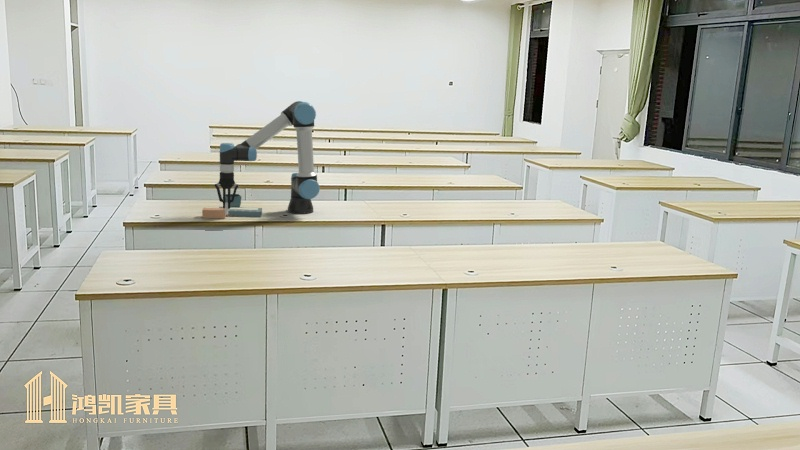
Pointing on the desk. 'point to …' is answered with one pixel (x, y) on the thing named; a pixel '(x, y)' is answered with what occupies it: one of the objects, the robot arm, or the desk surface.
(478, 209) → the desk surface
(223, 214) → the pink rectangular block
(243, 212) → the blue-grey flat slab
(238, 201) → the flower pot
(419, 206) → the desk surface
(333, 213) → the desk surface
